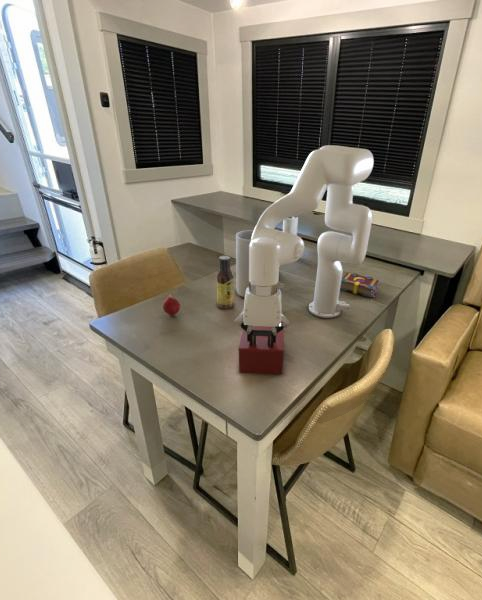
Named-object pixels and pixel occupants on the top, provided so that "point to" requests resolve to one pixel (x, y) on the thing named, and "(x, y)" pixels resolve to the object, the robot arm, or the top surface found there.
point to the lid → (262, 340)
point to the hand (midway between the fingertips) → (261, 343)
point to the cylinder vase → (242, 260)
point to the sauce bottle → (225, 284)
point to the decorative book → (359, 284)
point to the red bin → (260, 362)
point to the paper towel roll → (290, 225)
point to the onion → (171, 306)
